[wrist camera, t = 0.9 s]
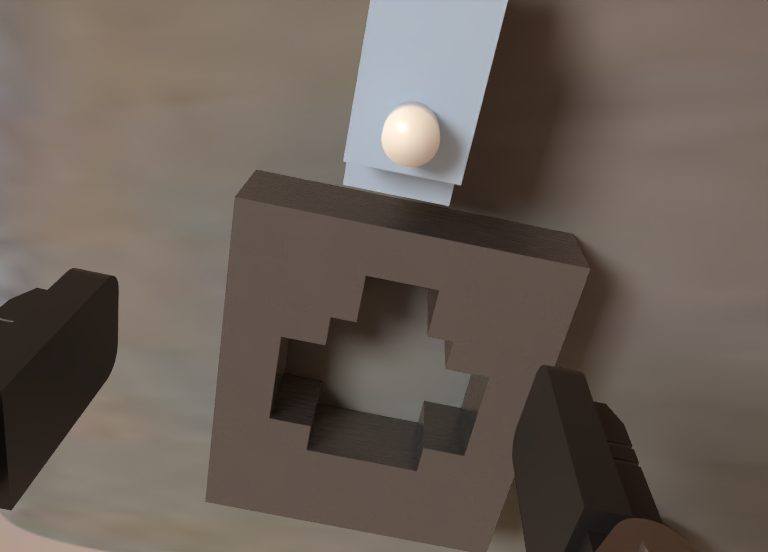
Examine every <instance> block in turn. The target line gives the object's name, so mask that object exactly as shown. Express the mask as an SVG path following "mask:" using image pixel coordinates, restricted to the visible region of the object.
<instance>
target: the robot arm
mask: <svg viewBox="0 0 768 552" xmlns="http://www.w3.org/2000/svg"><path fill="white" fill-rule="evenodd" d="M118 295H119V288H118V281H117V279H116V277H115V276H111V275H106V274H101V273H97V272H92V271H87V270H82V269H77V268H72V269H70V270H69V271H67V272H66V273H65V274H64V275H63V276H62V277H61V278H60V279H59V280H58V281H57V282H56V283H54V284H53V285H52V286H51V287H50V288H49V289H48V290H45V289H40V288H36V289H33V290H31V291H28V292H26V293H24V294H21V295H19V296H17V297H14V298H12V299H9V300H8V301H7V302H6V303H5V304H4V305H2V306H1V307H0V508H2V509H7V510H12V509H13V507H14V506H15V505H16V503H17V502H18V501H19V499H20V498H21V496H22V495H23V494H24V492H25V491H26V490H27V488H28V487H29V486H30V484H31V483H32V481H33V480H34V479H35V477H36V476H37V475H38V473H39V472H40V470H41V469H42V468H43V466H44V465H45V464H46V462H47V461H48V460H49V458H50V457H51V455H52V454H53V453H54V451H55V450H56V449H57V447H58V446H59V444H60V443H61V442H62V440H63V439H64V438H65V436H66V435H67V434H68V432H69V431H70V429H71V428H72V427H73V425H74V424H75V423H76V421H77V420H78V418H79V417H80V416H81V414H82V413H83V412H84V410H85V409H86V408H87V406H88V405H89V403H90V402H91V401H92V399H93V398H94V397H95V395H96V394H97V392H98V391H99V390H100V388H101V387H102V386H103V384H104V383H105V381H106V380H107V379H108V377H109V375H110V373H111V371H112V368H113V366H114V363H115V359H116V354H117V347H118ZM512 461H513V468H514V475H515V481H516V488H517V494H518V501H519V507H520V514H521V520H522V527H523V534H524V540H525V547H526V552H697V551H696V549H695V548H694V547H693V546H692V545H691V544H690V543H689V542H688V541H687V540H685V539H684V538H683V537H682V536H681V535H679V534H678V533H676V532H675V531H673V530H672V529H670V528H668V527H666V526H664V525H663V523H662V520H661V518H660V515H659V513H658V510H657V507H656V505H655V502H654V500H653V497H652V495H651V492H650V490H649V487H648V484H647V482H646V479H645V477H644V474H643V472H642V469H641V467H638V464H639V461H638V459H637V456H636V454H635V451H634V449H632V444H631V441H630V439H629V436H628V433H627V431H626V428H625V426H624V424H623V423H622V422H621V420H620V419H619V418H618V417H617V416H616V415H615V414H614V413H613V411H612V410H611V409H610V408H609V407H608V406H607V405H606V404H603V403H598V402H593V399H592V396H591V393H590V390H589V387H588V384H587V381H586V378H585V376H584V374H583V373H582V372H578V371H573V370H568V369H563V368H558V367H553V366H548V365H542V366H541V367H540V368H539V369H538V371H537V373H536V376H535V378H534V381H533V384H532V386H531V389H530V392H529V394H528V397H527V400H526V403H525V405H524V408H523V411H522V413H521V416H520V419H519V421H518V424H517V427H516V430H515V434H514V439H513V447H512Z"/></svg>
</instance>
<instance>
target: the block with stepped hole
mask: <svg viewBox="0 0 768 552" xmlns="http://www.w3.org/2000/svg"><path fill="white" fill-rule="evenodd" d="M589 272H590V267H589V265H588V263H587V261H586V259H585V257H584V255H583V253H582V251H581V249H580V247H579V245H578V243H577V241H576V239H575V237H574V235H573V234H569V233H564V232H560V231H555V230H550V229H545V228H540V227H535V226H530V225H525V224H520V223H515V222H510V221H505V220H500V219H496V218H491V217H486V216H481V215H476V214H471V213H466V212H461V211H456V210H451V209H446V208H441V207H437V206H432V205H427V204H422V203H417V202H412V201H407V200H402V199H397V198H392V197H387V196H382V195H378V194H373V193H368V192H363V191H358V190H353V189H348V188H343V187H338V186H333V185H328V184H323V183H318V182H314V181H309V180H304V179H299V178H294V177H289V176H284V175H279V174H274V173H269V172H264V171H259V170H256V171H255V172H254V173H253V175H252V176H251V177H250V178H249V180H248V181H247V182H246V183H245V185H244V186H243V187H242V189H241V190H240V191H239V192H238V194H237V195H236V196H235V201H234V212H233V222H232V232H231V243H230V253H229V263H228V274H227V284H226V294H225V305H224V315H223V325H222V336H221V346H220V356H219V367H218V377H217V387H216V398H215V408H214V418H213V429H212V439H211V449H210V460H209V470H208V480H207V491H206V501H205V502H209V503H215V504H220V505H225V506H231V507H236V508H241V509H246V510H252V511H257V512H262V513H268V514H273V515H278V516H284V517H289V518H294V519H300V520H305V521H310V522H315V523H321V524H326V525H331V526H337V527H342V528H347V529H353V530H358V531H363V532H368V533H374V534H379V535H384V536H390V537H395V538H400V539H406V540H411V541H416V542H421V543H427V544H432V545H437V546H443V547H448V548H453V549H459V550H464V551H469V552H487V549H488V547H489V544H490V541H491V538H492V536H493V533H494V530H495V527H496V525H497V522H498V519H499V517H500V514H501V511H502V508H503V506H504V503H505V500H506V498H507V495H508V492H509V489H510V487H511V484H512V481H513V479H514V476H515V475H514V468H513V461H512V447H513V439H514V434H515V430H516V427H517V424H518V421H519V419H520V416H521V413H522V411H523V408H524V405H525V403H526V400H527V397H528V394H529V392H530V389H531V386H532V384H533V381H534V378H535V376H536V373H537V371H538V369H539V368H540V367H541V366H542V365H548V366H553V367H555V364H556V362H557V359H558V356H559V353H560V351H561V348H562V345H563V343H564V340H565V337H566V334H567V332H568V329H569V326H570V324H571V321H572V318H573V315H574V313H575V310H576V307H577V305H578V302H579V299H580V296H581V294H582V291H583V288H584V285H585V283H586V280H587V277H588V275H589ZM366 276H370V277H375V278H380V279H385V280H390V281H395V282H400V283H405V284H410V285H415V286H420V287H425V288H430V290H429V294H428V331H427V336H428V337H433V338H438V339H443V340H445V365H446V369H448V370H454V371H459V372H464V373H469V374H471V378H470V381H469V384H468V388H467V391H466V394H465V398H464V401H463V404H462V408H456V407H451V406H446V405H441V404H435V403H430V402H425V401H424V404H423V407H422V411H421V415H420V418H419V422H418V423H415V422H410V421H405V420H400V419H394V418H389V417H384V416H379V415H374V414H369V413H363V412H358V411H353V410H348V409H343V408H338V407H332V406H327V405H322V404H318V400H319V395H320V389H321V384H322V381H317V380H312V379H307V378H302V377H297V376H292V375H286V374H284V373H285V367H286V360H287V354H288V347H289V340H290V338H291V339H296V340H301V341H306V342H311V343H316V344H321V345H326V341H327V337H328V333H329V329H330V326H331V322H332V318H337V319H342V320H347V321H352V322H357V317H358V312H359V307H360V302H361V297H362V293H363V288H364V283H365V278H366Z"/></svg>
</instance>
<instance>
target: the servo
mask: <svg viewBox="0 0 768 552" xmlns="http://www.w3.org/2000/svg"><path fill="white" fill-rule="evenodd" d="M507 3H508V0H370V6H369V12H368V18H367V24H366V30H365V36H364V42H363V48H362V54H361V60H360V65H359V71H358V77H357V83H356V89H355V95H354V101H353V107H352V113H351V119H350V124H349V130H348V136H347V142H346V148H345V154H344V160H343V161H344V162H347V164H346V169H345V175H344V181H343V185H347V186H352V187H357V188H362V189H367V190H372V191H377V192H382V193H387V194H392V195H397V196H401V197H406V198H411V199H416V200H421V201H426V202H431V203H436V204H441V205H446V206H449V204H450V200H451V196H452V192H453V188H454V184H457V185H461V183H462V179H463V175H464V171H465V167H466V164H467V160H468V156H469V152H470V148H471V144H472V140H473V136H474V132H475V128H476V124H477V120H478V116H479V113H480V109H481V105H482V101H483V97H484V93H485V89H486V85H487V81H488V77H489V73H490V69H491V65H492V62H493V58H494V54H495V50H496V46H497V42H498V38H499V34H500V30H501V26H502V22H503V18H504V14H505V11H506V7H507Z"/></svg>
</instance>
